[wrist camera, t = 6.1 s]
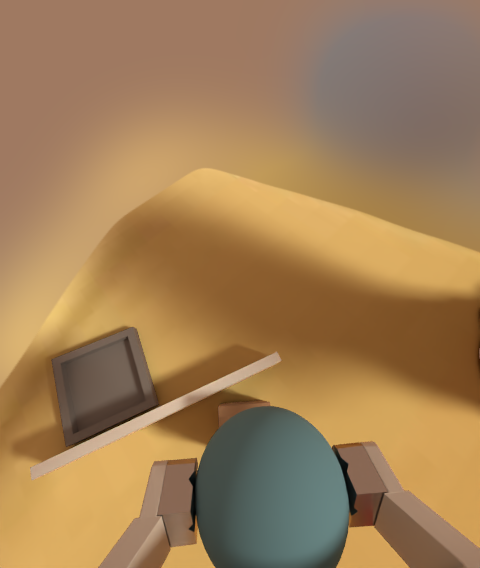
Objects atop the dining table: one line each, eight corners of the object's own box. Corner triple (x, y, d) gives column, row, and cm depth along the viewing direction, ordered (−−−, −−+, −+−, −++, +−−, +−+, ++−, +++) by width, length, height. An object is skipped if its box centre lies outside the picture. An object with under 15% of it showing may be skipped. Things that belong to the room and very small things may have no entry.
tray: (136, 329, 31) (132, 326, 30) (159, 404, 28) (155, 404, 27) (58, 360, 29) (51, 359, 28) (73, 444, 26) (65, 446, 25)
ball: (285, 384, 12) (316, 380, 8) (342, 503, 11) (426, 590, 6) (186, 433, 11) (154, 463, 7) (231, 571, 10) (229, 735, 5)
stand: (261, 400, 28) (269, 402, 22) (265, 446, 27) (276, 463, 20) (221, 403, 28) (218, 406, 22) (223, 450, 26) (220, 469, 20)
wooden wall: (271, 356, 30) (277, 351, 26) (275, 364, 30) (281, 360, 26) (59, 456, 26) (30, 467, 22) (60, 467, 25) (31, 480, 22)
